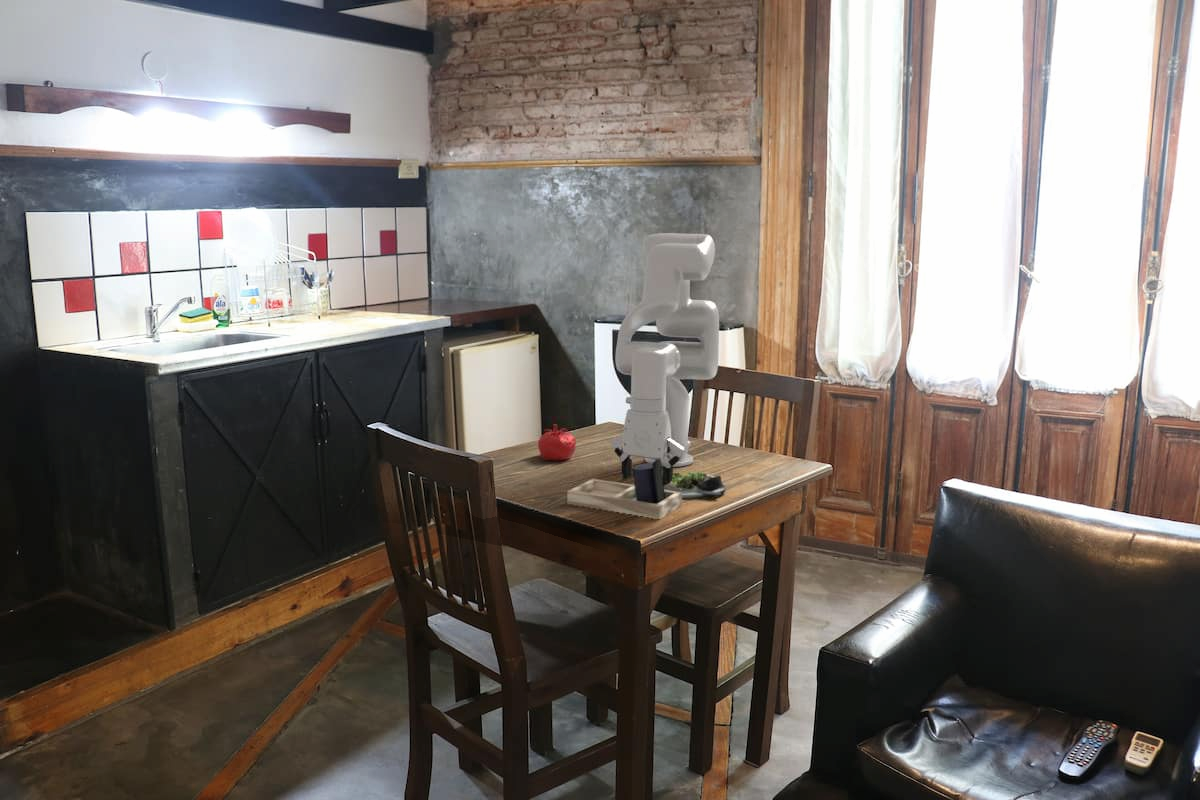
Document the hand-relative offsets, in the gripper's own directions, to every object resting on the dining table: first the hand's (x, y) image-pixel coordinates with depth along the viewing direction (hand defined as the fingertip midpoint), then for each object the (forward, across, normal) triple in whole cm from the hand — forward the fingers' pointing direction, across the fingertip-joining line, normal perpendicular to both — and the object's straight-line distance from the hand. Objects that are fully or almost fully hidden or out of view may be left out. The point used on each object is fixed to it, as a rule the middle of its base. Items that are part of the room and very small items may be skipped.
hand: (646, 480), depth 218 cm
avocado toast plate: (+7, +3, +19) cm, 20 cm away
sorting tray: (+6, -5, 0) cm, 8 cm away
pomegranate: (+7, -39, +28) cm, 49 cm away
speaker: (+6, 0, 0) cm, 6 cm away
